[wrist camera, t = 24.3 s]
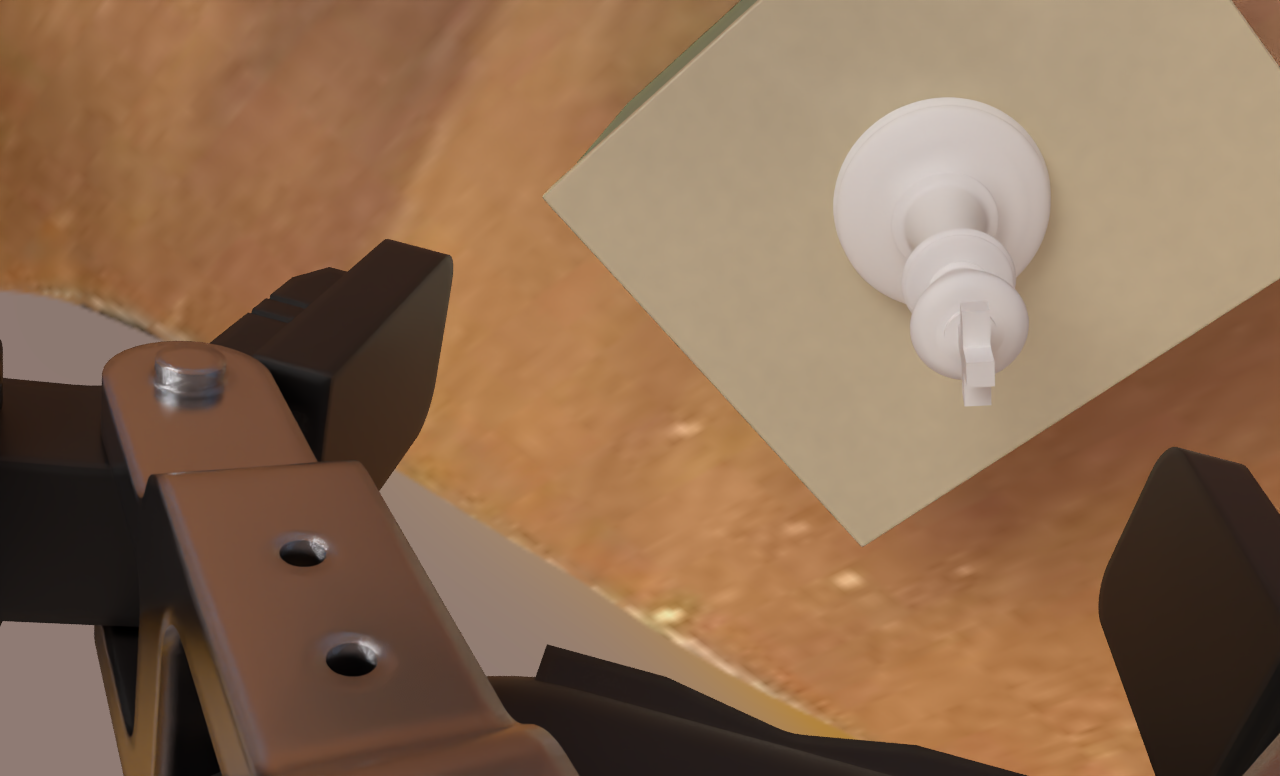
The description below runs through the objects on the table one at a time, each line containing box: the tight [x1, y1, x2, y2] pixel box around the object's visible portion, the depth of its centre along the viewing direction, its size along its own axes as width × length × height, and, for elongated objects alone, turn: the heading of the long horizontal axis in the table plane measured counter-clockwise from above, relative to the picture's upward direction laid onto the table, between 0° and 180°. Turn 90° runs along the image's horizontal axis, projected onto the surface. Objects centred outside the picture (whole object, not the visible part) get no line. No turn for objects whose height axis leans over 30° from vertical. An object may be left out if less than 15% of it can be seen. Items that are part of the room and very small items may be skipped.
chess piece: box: [833, 97, 1051, 407], centre depth 24 cm, size 5×5×10 cm
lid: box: [543, 0, 1280, 547], centre depth 28 cm, size 14×13×1 cm
